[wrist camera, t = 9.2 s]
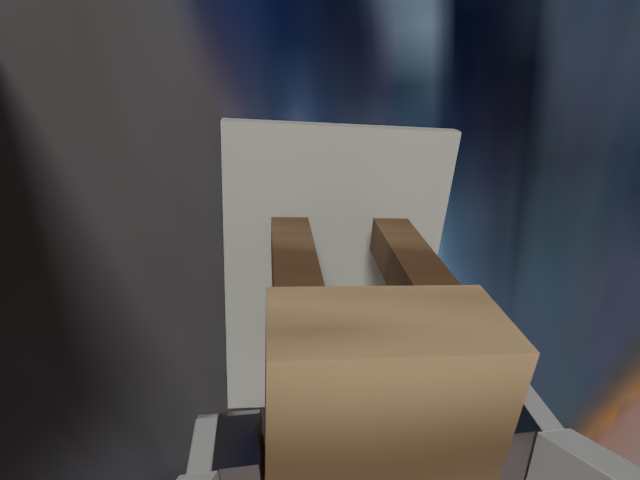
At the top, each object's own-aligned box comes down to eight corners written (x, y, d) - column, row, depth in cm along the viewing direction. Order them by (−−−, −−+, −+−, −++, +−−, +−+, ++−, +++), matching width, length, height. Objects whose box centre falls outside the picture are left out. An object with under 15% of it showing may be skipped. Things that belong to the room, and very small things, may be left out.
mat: (405, 392, 20) (409, 401, 20) (228, 397, 19) (227, 408, 19) (454, 128, 16) (461, 132, 15) (222, 117, 15) (220, 120, 14)
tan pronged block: (389, 374, 18) (466, 580, 11) (264, 378, 17) (264, 600, 10) (414, 210, 15) (540, 352, 8) (265, 208, 14) (266, 361, 8)
